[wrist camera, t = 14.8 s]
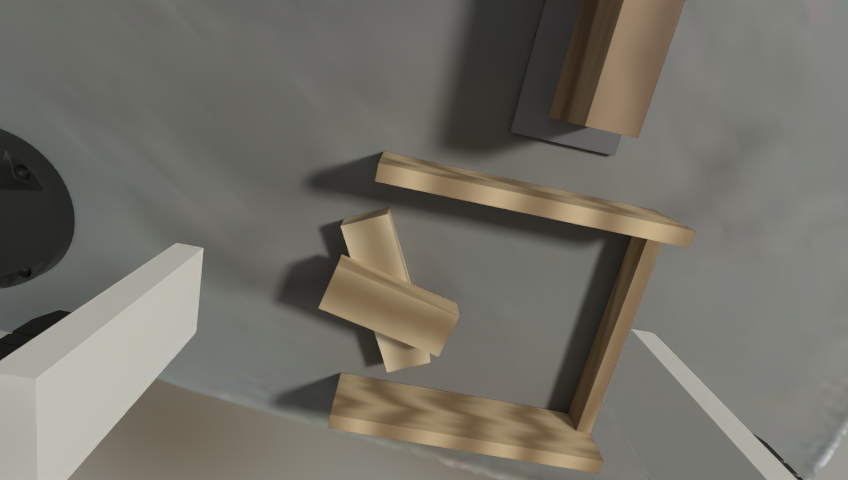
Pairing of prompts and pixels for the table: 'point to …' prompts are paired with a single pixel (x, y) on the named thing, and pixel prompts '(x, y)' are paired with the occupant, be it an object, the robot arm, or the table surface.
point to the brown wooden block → (614, 63)
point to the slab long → (381, 250)
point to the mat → (554, 85)
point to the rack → (495, 420)
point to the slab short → (389, 306)
